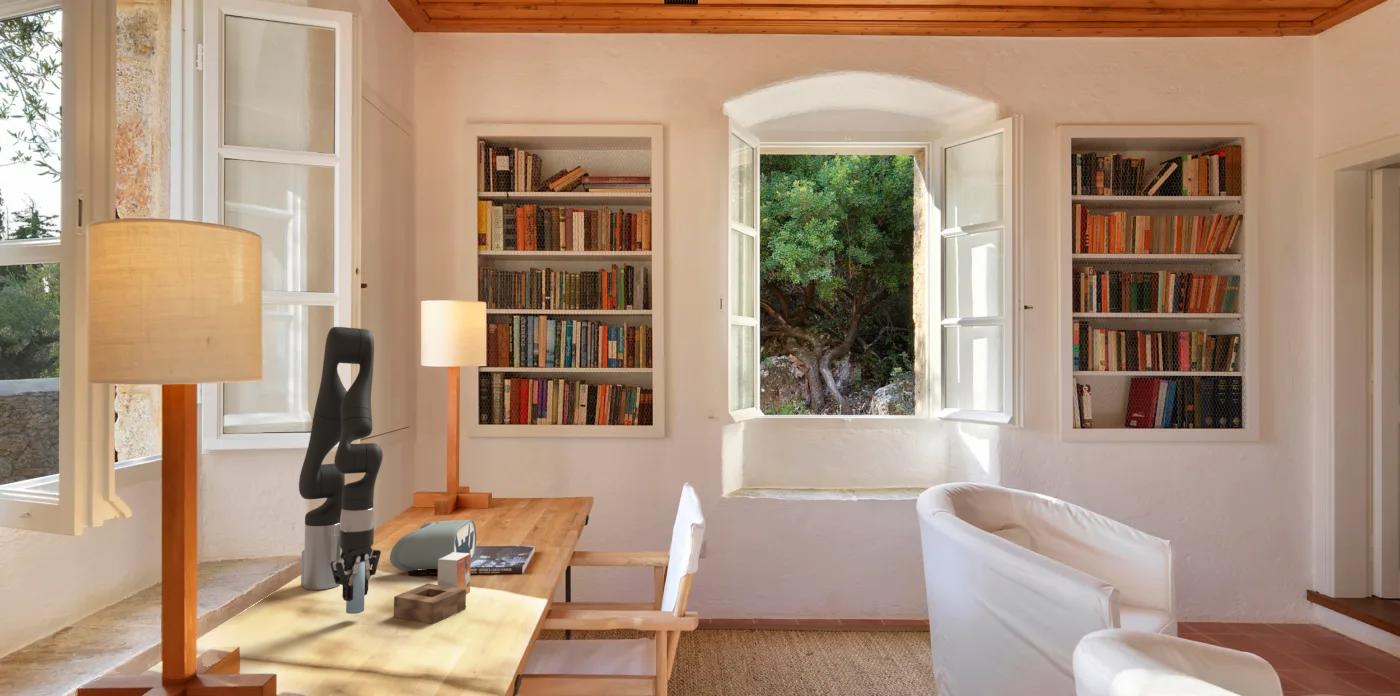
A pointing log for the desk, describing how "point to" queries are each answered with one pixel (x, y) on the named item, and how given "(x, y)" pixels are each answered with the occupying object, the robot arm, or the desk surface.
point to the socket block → (429, 603)
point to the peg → (357, 591)
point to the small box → (455, 570)
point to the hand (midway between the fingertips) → (355, 597)
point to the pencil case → (433, 544)
